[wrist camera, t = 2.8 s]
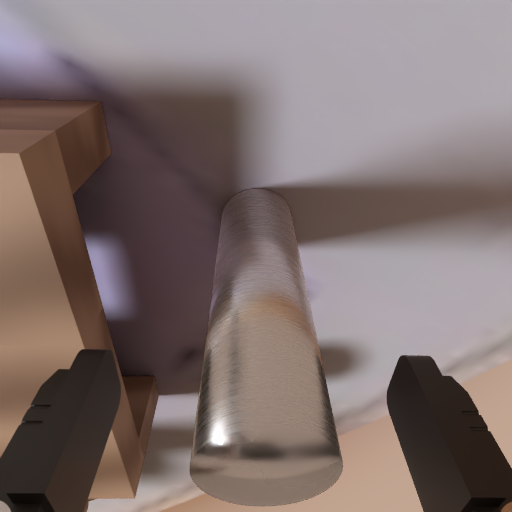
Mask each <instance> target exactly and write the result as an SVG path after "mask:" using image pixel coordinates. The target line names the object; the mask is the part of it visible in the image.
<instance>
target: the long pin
mask: <svg viewBox="0 0 512 512" xmlns="http://www.w3.org/2000/svg"><path fill="white" fill-rule="evenodd" d="M342 469H343V461H342V456H341V452H340V447H339V442H338V437H337V432H336V427H335V423H334V418H333V413H332V408H331V403H330V399H329V394H328V389H327V384H326V379H325V375H324V370H323V365H322V360H321V355H320V351H319V346H318V341H317V336H316V331H315V327H314V322H313V317H312V312H311V307H310V302H309V298H308V293H307V288H306V283H305V278H304V274H303V269H302V264H301V259H300V254H299V250H298V245H297V240H296V235H295V230H294V226H293V221H292V216H291V212H290V209H289V207H288V205H287V203H286V202H285V201H284V199H283V198H281V197H280V196H279V195H278V194H276V193H274V192H272V191H269V190H266V189H259V188H255V189H248V190H244V191H242V192H239V193H238V194H236V195H235V196H233V197H232V198H231V199H230V200H229V201H228V202H227V204H226V205H225V207H224V210H223V213H222V218H221V226H220V234H219V242H218V250H217V257H216V265H215V273H214V281H213V289H212V296H211V304H210V312H209V320H208V328H207V336H206V343H205V351H204V359H203V367H202V375H201V383H200V390H199V398H198V406H197V414H196V422H195V429H194V437H193V445H192V453H191V461H190V475H191V478H192V480H193V482H194V483H195V484H196V485H197V487H199V488H200V489H201V490H202V491H204V492H205V493H207V494H208V495H210V496H212V497H215V498H217V499H220V500H223V501H226V502H229V503H234V504H240V505H248V506H277V505H286V504H291V503H296V502H300V501H303V500H307V499H309V498H312V497H314V496H316V495H319V494H321V493H322V492H324V491H326V490H327V489H328V488H330V487H331V486H332V485H333V484H334V483H335V482H336V481H337V480H338V479H339V477H340V475H341V473H342Z"/></svg>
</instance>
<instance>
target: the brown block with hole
mask: <svg viewBox="0 0 512 512" xmlns="http://www.w3.org/2000/svg"><path fill="white" fill-rule="evenodd" d="M110 155H111V149H110V144H109V139H108V133H107V128H106V123H105V118H104V113H103V108H102V103H101V101H64V100H25V99H0V458H1V456H2V454H3V452H4V451H5V449H6V447H7V445H8V444H9V442H10V440H11V438H12V437H13V435H14V433H15V431H16V429H17V428H18V426H19V425H21V422H22V419H23V417H24V415H25V413H26V412H27V410H28V408H29V409H30V407H31V403H32V401H33V399H34V397H35V396H36V394H37V392H38V390H39V389H40V387H41V385H42V384H43V383H44V382H45V381H46V380H48V379H49V378H50V377H51V376H52V375H53V374H54V373H55V372H56V371H57V370H58V369H70V367H71V365H72V363H73V361H74V359H75V357H76V355H77V354H78V352H79V351H80V350H82V349H110V350H111V351H112V352H113V356H114V360H115V364H116V367H117V371H118V375H119V379H120V384H121V398H120V404H119V407H118V411H117V414H116V417H115V420H114V422H113V425H112V428H111V431H110V434H109V437H108V440H107V443H106V446H105V449H104V452H103V455H102V458H101V461H100V464H99V467H98V470H97V473H96V476H95V479H94V482H93V485H92V488H91V491H90V494H89V497H88V499H109V498H135V496H136V491H137V487H138V483H139V478H140V474H141V470H142V466H143V461H144V457H145V453H146V448H147V444H148V440H149V435H150V431H151V427H152V422H153V418H154V414H155V409H156V405H157V401H158V391H157V386H156V381H155V376H121V372H120V368H119V365H118V361H117V357H116V354H115V350H114V346H113V343H112V339H111V335H110V331H109V328H108V324H107V320H106V317H105V313H104V309H103V306H102V302H101V298H100V295H99V291H98V287H97V284H96V280H95V276H94V272H93V269H92V265H91V261H90V258H89V254H88V250H87V247H86V243H85V239H84V236H83V232H82V228H81V225H80V221H79V217H78V213H77V210H76V206H75V202H74V199H73V194H74V193H75V192H76V191H77V190H78V189H79V188H80V186H81V185H82V184H83V183H84V182H85V181H86V180H87V179H88V178H89V177H90V176H91V175H92V174H93V173H94V172H95V171H96V170H97V168H98V167H99V166H100V165H101V164H102V163H103V162H104V161H105V160H106V159H107V158H108V157H109V156H110Z"/></svg>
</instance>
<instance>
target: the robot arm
mask: <svg viewBox="0 0 512 512" xmlns="http://www.w3.org/2000/svg"><path fill="white" fill-rule="evenodd" d="M120 398H121V384H120V379H119V375H118V371H117V367H116V364H115V360H114V356H113V352H112V351H111V350H110V349H82V350H80V351H79V352H78V354H77V355H76V357H75V359H74V361H73V363H72V365H71V367H70V369H58V370H57V371H56V372H55V373H54V374H53V375H52V376H51V377H50V378H49V379H48V380H46V381H45V382H44V383H43V384H42V385H41V387H40V389H39V390H38V392H37V394H36V396H35V397H34V399H33V401H32V403H31V407H30V409H29V408H28V410H27V412H26V413H25V415H24V417H23V419H22V422H21V425H19V426H18V428H17V429H16V431H15V433H14V435H13V437H12V438H11V440H10V442H9V444H8V445H7V447H6V449H5V451H4V452H3V454H2V456H1V458H0V512H84V509H85V506H86V503H87V500H88V497H89V494H90V491H91V488H92V485H93V482H94V479H95V476H96V473H97V470H98V467H99V464H100V461H101V458H102V455H103V452H104V449H105V446H106V443H107V440H108V437H109V434H110V431H111V428H112V425H113V422H114V420H115V417H116V414H117V411H118V407H119V404H120ZM387 405H388V410H389V413H390V416H391V419H392V422H393V425H394V427H395V431H396V433H397V436H398V439H399V442H400V445H401V448H402V451H403V453H404V456H405V459H406V462H407V465H408V467H409V471H410V473H411V476H412V479H413V482H414V485H415V488H416V491H417V494H418V496H419V499H420V502H421V505H422V507H423V511H424V512H512V468H511V467H510V465H509V463H508V462H507V460H506V458H505V456H504V455H503V453H502V451H501V450H500V448H499V446H498V444H497V442H496V441H495V439H494V437H493V435H492V434H491V432H490V431H488V428H487V425H486V423H485V422H484V420H483V418H482V417H481V415H479V413H478V410H477V408H476V406H475V404H474V403H473V401H472V399H471V398H470V396H469V394H468V392H467V391H466V390H465V389H464V388H463V387H462V386H461V385H460V384H459V383H458V382H456V381H455V380H454V379H453V378H452V377H451V376H442V374H441V372H440V370H439V368H438V367H437V365H436V363H435V361H434V360H433V358H431V357H430V356H407V355H402V356H401V357H400V358H399V360H398V362H397V365H396V368H395V370H394V373H393V376H392V379H391V381H390V384H389V387H388V390H387Z"/></svg>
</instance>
